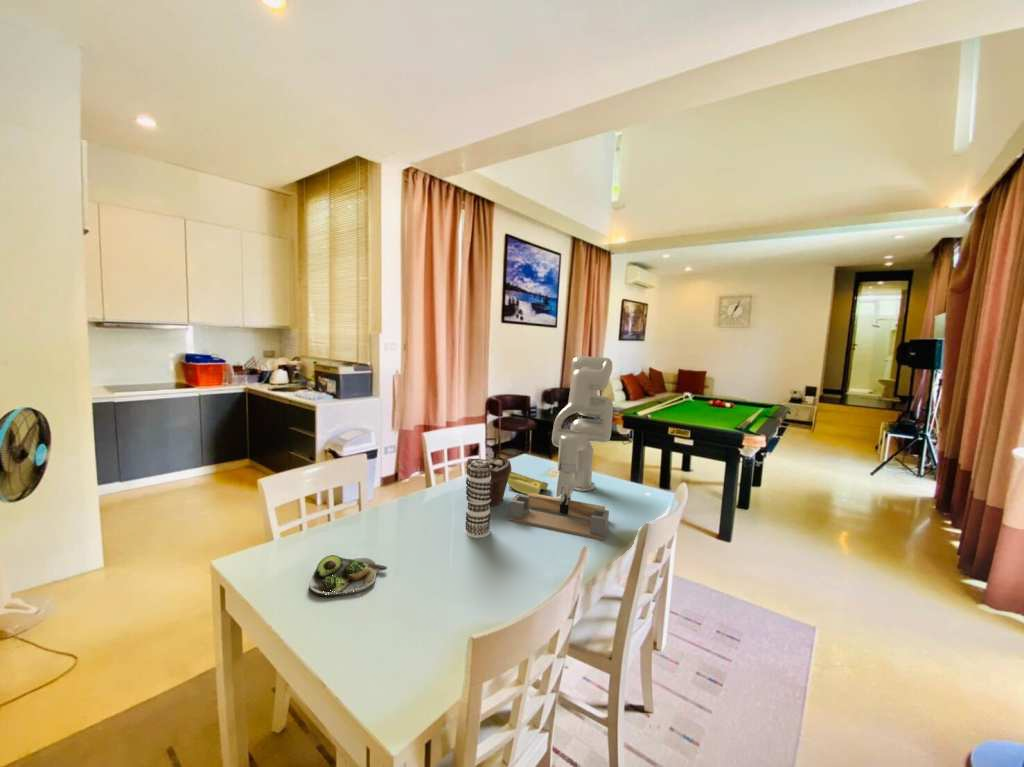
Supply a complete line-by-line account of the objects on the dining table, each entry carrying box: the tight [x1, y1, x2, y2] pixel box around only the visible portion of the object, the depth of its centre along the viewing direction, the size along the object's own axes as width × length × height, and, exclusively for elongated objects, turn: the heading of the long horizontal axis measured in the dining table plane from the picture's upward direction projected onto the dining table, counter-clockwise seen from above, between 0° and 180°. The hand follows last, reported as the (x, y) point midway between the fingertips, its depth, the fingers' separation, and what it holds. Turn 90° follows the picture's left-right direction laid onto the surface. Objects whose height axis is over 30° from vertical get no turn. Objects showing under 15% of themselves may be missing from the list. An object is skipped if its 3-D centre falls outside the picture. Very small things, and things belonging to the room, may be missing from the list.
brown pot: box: [465, 457, 512, 507], centre depth 172 cm, size 18×20×18 cm
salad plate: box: [308, 554, 388, 598], centre depth 116 cm, size 19×18×5 cm
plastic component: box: [507, 471, 549, 496], centre depth 187 cm, size 20×7×10 cm
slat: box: [527, 493, 606, 520], centre depth 163 cm, size 3×30×5 cm, turn 69°
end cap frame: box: [508, 493, 610, 541], centre depth 153 cm, size 10×35×7 cm, turn 69°
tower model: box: [465, 460, 493, 539], centre depth 143 cm, size 9×9×25 cm
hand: (564, 511), depth 164 cm, fingers closed on slat, 2 cm apart
